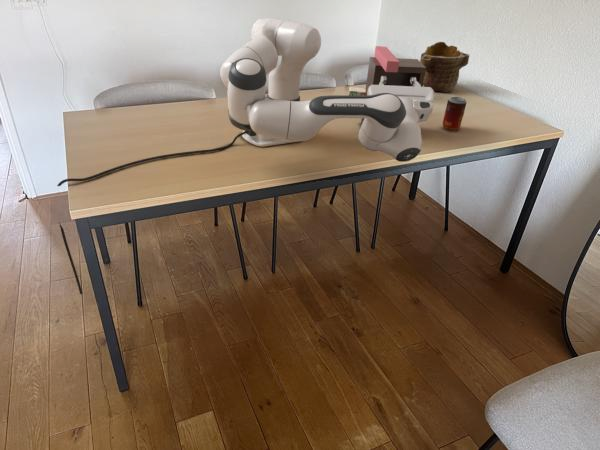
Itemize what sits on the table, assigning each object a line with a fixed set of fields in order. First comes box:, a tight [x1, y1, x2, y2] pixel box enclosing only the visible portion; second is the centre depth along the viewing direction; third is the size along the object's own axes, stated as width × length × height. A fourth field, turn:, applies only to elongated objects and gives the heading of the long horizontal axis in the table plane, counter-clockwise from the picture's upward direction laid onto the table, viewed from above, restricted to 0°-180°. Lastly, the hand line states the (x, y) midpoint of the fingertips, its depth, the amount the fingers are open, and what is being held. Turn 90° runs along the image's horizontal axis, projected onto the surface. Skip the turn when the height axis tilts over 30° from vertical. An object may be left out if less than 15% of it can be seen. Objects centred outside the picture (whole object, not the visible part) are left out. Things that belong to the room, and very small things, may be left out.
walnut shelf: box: [360, 56, 426, 125], centre depth 168 cm, size 12×18×26 cm, turn 92°
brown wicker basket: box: [419, 41, 470, 93], centre depth 220 cm, size 23×24×25 cm
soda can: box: [442, 96, 468, 132], centre depth 177 cm, size 7×7×12 cm
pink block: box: [373, 45, 399, 72], centre depth 157 cm, size 22×4×4 cm, turn 2°
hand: (398, 78), depth 141 cm, fingers open, 8 cm apart
